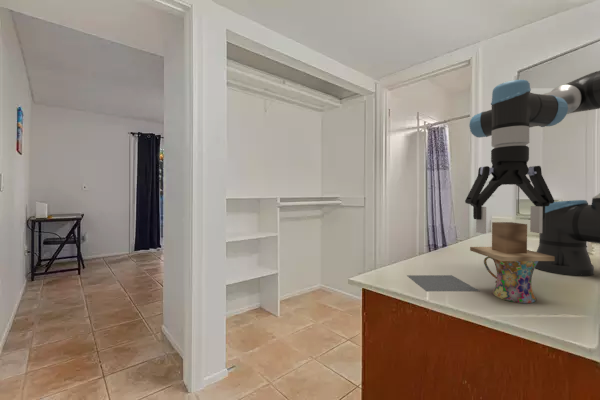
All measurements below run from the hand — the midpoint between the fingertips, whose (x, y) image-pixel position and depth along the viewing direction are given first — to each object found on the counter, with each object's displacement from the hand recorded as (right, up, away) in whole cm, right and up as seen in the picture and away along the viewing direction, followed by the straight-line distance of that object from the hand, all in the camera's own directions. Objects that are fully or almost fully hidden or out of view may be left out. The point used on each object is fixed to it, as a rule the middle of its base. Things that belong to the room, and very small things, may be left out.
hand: (508, 232), depth 70 cm
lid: (0, -6, 0) cm, 6 cm away
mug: (0, -16, 0) cm, 16 cm away
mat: (-12, -16, +11) cm, 23 cm away
